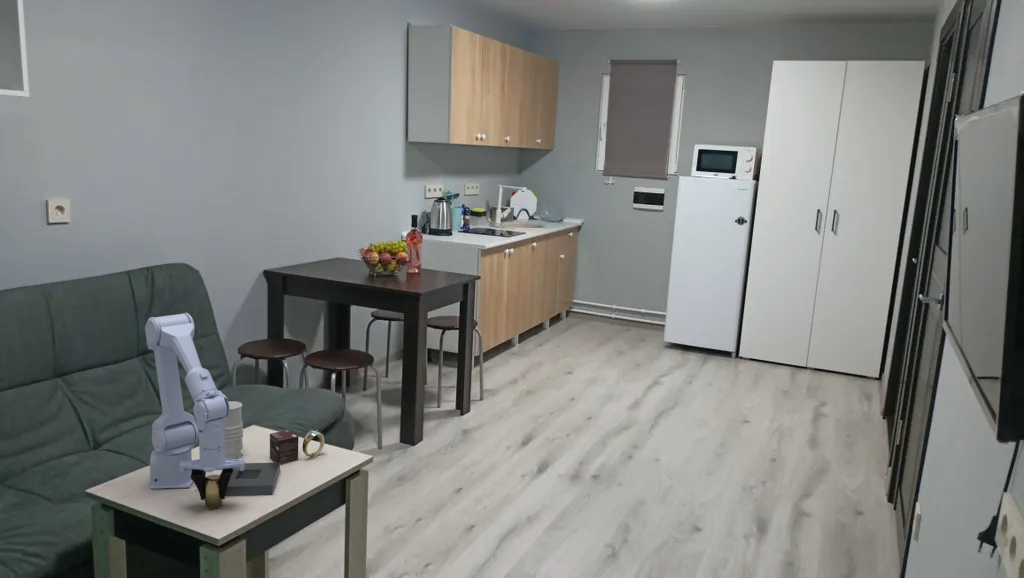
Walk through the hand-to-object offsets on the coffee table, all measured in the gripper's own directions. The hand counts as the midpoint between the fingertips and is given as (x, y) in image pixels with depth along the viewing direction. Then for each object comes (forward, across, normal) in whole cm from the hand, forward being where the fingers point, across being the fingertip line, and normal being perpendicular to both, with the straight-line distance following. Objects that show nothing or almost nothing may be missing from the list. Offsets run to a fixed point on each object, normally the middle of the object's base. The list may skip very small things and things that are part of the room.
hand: (213, 497), depth 174 cm
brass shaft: (+2, 0, 0) cm, 2 cm away
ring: (+2, +21, +28) cm, 35 cm away
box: (+2, +13, +27) cm, 30 cm away
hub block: (+2, +6, +12) cm, 14 cm away
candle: (+2, -2, +30) cm, 30 cm away
